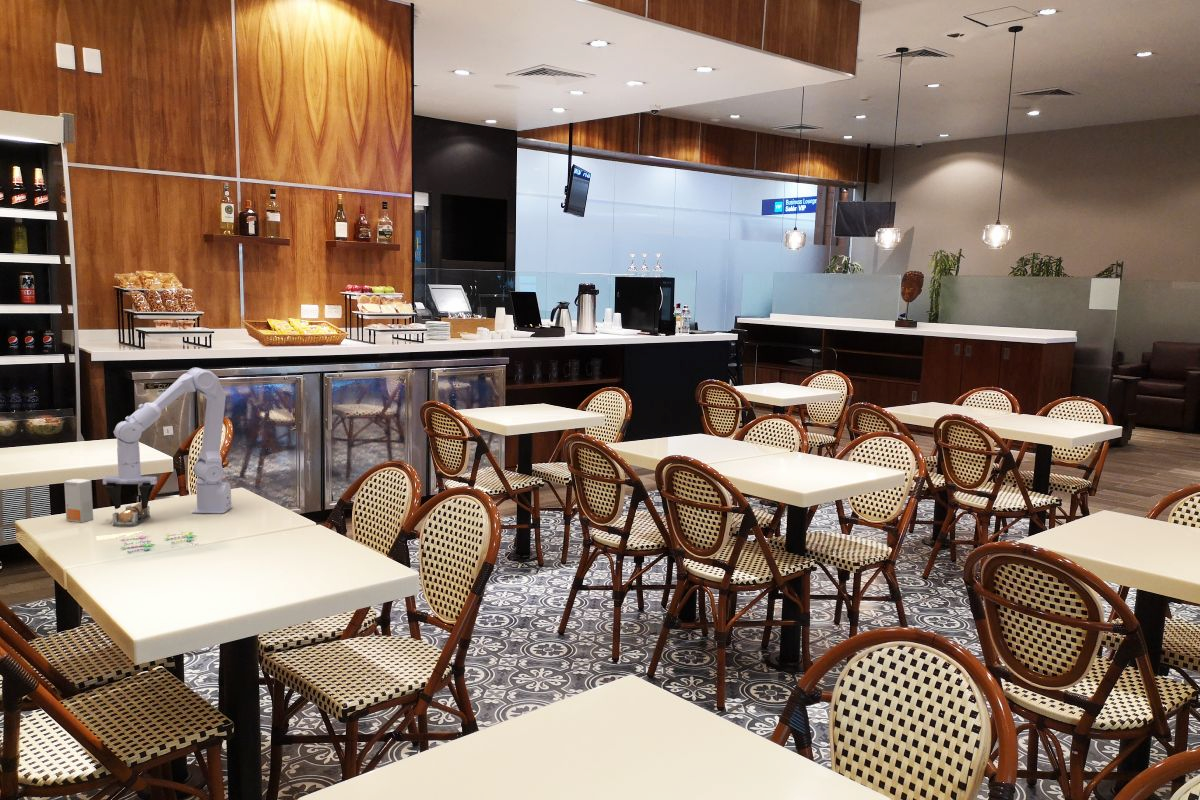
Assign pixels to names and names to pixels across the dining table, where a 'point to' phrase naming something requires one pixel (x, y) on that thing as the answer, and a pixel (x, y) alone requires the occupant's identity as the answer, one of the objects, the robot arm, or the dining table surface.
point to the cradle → (132, 518)
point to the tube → (126, 514)
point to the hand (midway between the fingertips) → (131, 508)
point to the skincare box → (78, 500)
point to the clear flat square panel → (141, 538)
